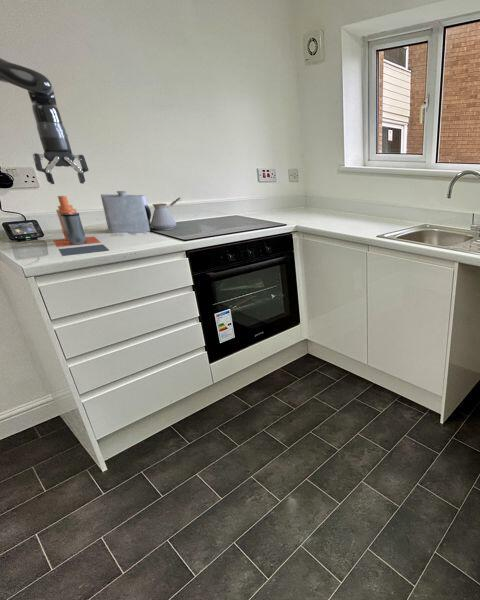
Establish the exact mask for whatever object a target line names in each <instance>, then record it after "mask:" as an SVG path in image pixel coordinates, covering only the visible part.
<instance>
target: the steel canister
mask: <svg viewBox="0 0 480 600" xmlns="http://www.w3.org/2000/svg"><path fill="white" fill-rule="evenodd" d="M60 216H61V218H62V221H63V224H64V227H65V230H66V234H67V237H68V240H69V243H70V244H71V245H74V246H80V245H79V244H83V245H86V244H85V243H87V240H86V237H87V236H86V234H85V229H84V226H83V223H82V220H81V217H80V213H79V212H77V213H62V214H60Z"/></svg>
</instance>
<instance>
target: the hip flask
mask: <svg viewBox="0 0 480 600" xmlns="http://www.w3.org/2000/svg"><path fill="white" fill-rule="evenodd" d="M116 193H117V194H118V195H113V196H102V197H101V196H100V198H102V199H101V202H102V201H103V203H102V206H103V205H104V208H103V210H104V209H105V212H106V216H107V220H108V224H109V227H110V233H111V234H139V233H148V232H151V229H150V227H149V223H148V218H147V214H146V210H145V205H144V201H143V196H126V195H127V191H126V190H117V191H116Z"/></svg>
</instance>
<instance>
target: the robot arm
mask: <svg viewBox="0 0 480 600" xmlns="http://www.w3.org/2000/svg"><path fill="white" fill-rule="evenodd" d="M0 82H2V83H4V84H5V83H6V84H11V85H13V86H16V87H18V88H21V89H22V90H23V89H24V90H26V91H27V95H28V96H29V101H30V103H31V109H32V114H33V118H34V121H35V125H36V131H37V133H38V136H39V139H40V143H41V146H42V150H43V153H37V152H34V153H32V157H33V162H34V165H35V170H36V171H38V172H41V173H44V174H45V175H44V176H45V179H46V182H47V183H49V184H50V185H55V180H54V177H53V174H52V173H51V171H52V170H53V169H54V168H55V167H61V168H62V167H66V168H69V167H70V168H72V169H73V170H74V171H76V172H77V174H76V175H77V178H78V181H79V184H81V185H82V184H83V185H84V184H85V182H86V178H85V174H84V173H86V172H89V167H88V164H87V160H86V157H85V156H84V155H83V154H74V153H73V151H72V148H71V145H70V141H69V138H68V137H69V136H68V134H67V130H66V128H65V126H64V124H63V120H62V116H61V112H60V110H59V108H58V104H57V100H56V99H57V98H56V95H55V91H54V87H53V84H52V83H51V81H50V80H49V78H48V76H46V75H44V74H43V73H41V72H40V71H37V70H34V69H32V68H30V67H25V66H23V65H20V64H16V63H13V62H10V61H8V60H6V59H5V58H1V57H0ZM44 159H45V160H47V161H48V162H47V164H46V166H45V168H44V167H43V164H42V161H43V160H44ZM75 159H76V160H77V161H78V162H79V164H80V167H81V168H80V167H79V166H78V164H76V163H75V162H74V160H75Z"/></svg>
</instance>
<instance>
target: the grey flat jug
mask: <svg viewBox="0 0 480 600" xmlns="http://www.w3.org/2000/svg"><path fill="white" fill-rule="evenodd" d="M113 195H118V193H117V194H115V193H114V194H113V193H101V194H100V198H101V197H102V196H113ZM126 196H143V201H144V205H145V210H146V214H147V218H148V223H149V227H150V230H151V229H152V226H151V219H152V212H151V208H150V207H149V205H148V202H147V196H146V195H145V194H126ZM101 203H102V207H103V213H104V218H105V221H106V224H107V225H106V226H107V229H108V230H110V227H109V224H108V220H107V216H106V212H105V209H104V205H103V201H102V198H101Z"/></svg>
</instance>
